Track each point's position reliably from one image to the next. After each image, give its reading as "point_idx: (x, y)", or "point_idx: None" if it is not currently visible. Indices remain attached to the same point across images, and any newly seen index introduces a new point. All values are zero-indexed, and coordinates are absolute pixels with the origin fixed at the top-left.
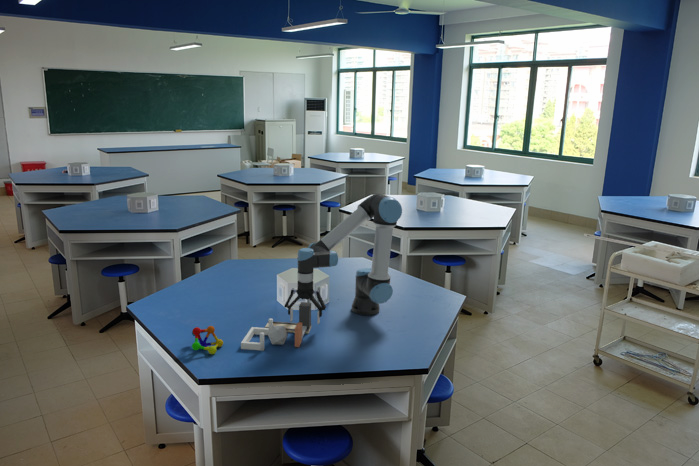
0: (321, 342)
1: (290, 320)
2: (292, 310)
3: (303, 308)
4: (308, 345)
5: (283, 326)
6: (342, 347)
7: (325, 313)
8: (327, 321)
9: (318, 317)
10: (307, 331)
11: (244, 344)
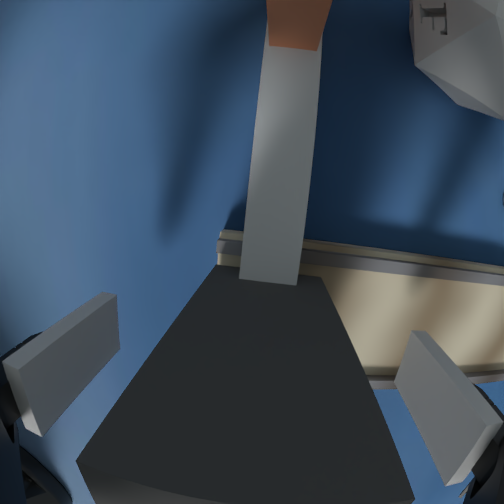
0: (110, 78)
1: (428, 337)
2: (443, 443)
3: (274, 450)
4: (209, 13)
5: (495, 5)
6: (13, 57)
7: None
8: None
9: (63, 321)
10: (231, 238)
11: None
